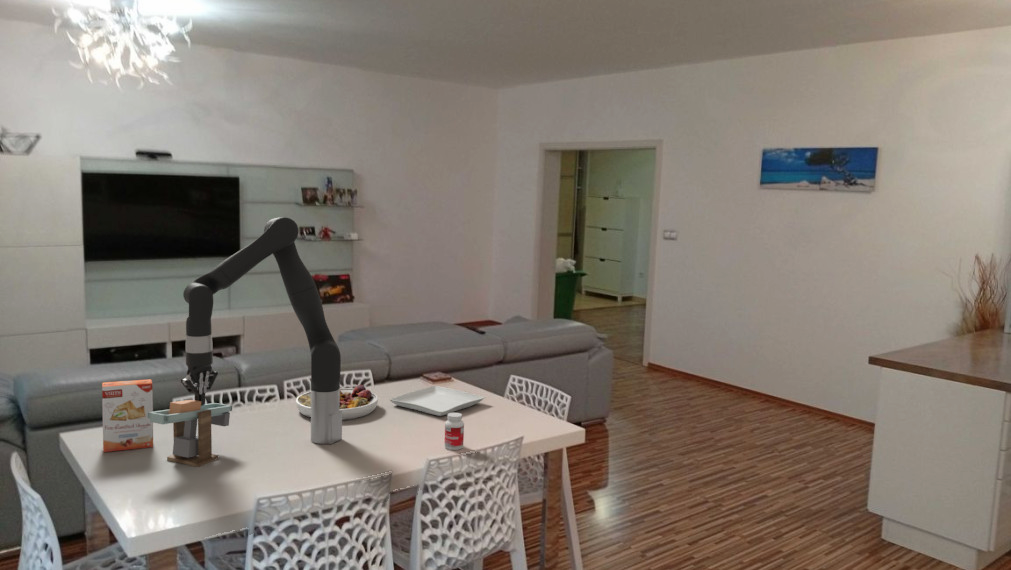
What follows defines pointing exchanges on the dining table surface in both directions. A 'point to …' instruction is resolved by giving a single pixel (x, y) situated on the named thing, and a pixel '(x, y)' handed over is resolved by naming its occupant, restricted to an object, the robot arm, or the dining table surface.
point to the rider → (184, 406)
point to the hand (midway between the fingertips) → (200, 405)
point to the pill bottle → (454, 432)
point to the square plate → (437, 400)
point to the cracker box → (127, 415)
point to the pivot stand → (203, 441)
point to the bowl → (345, 402)
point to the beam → (191, 425)
